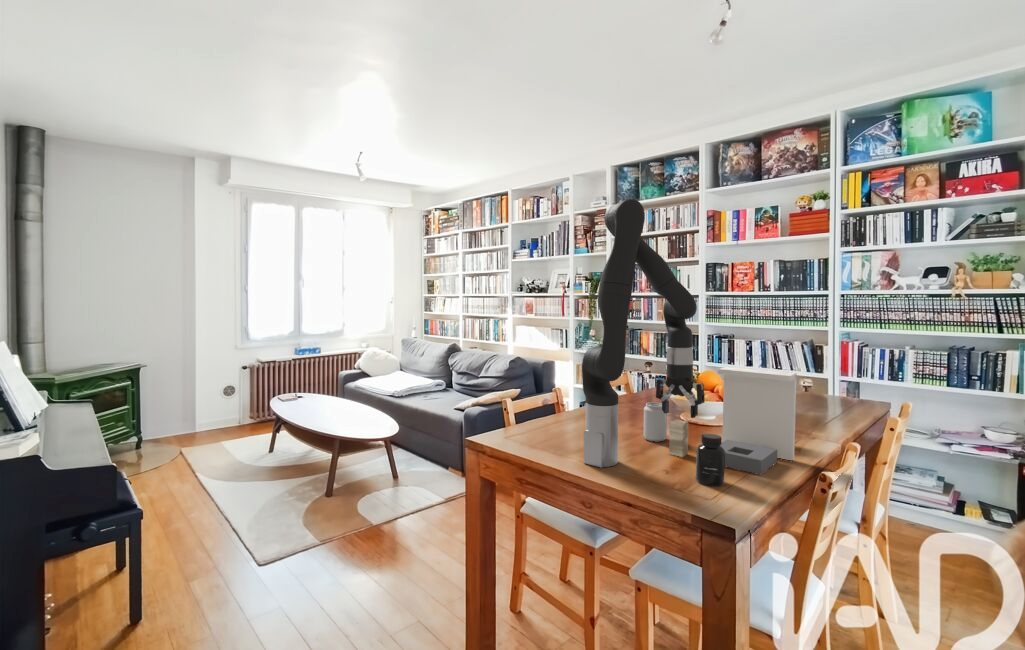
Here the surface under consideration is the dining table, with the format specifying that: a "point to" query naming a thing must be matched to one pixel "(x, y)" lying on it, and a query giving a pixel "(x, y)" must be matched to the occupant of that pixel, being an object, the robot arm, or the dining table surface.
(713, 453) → the supplement bottle
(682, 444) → the peg
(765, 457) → the socket
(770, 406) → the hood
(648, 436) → the can
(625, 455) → the dining table surface
